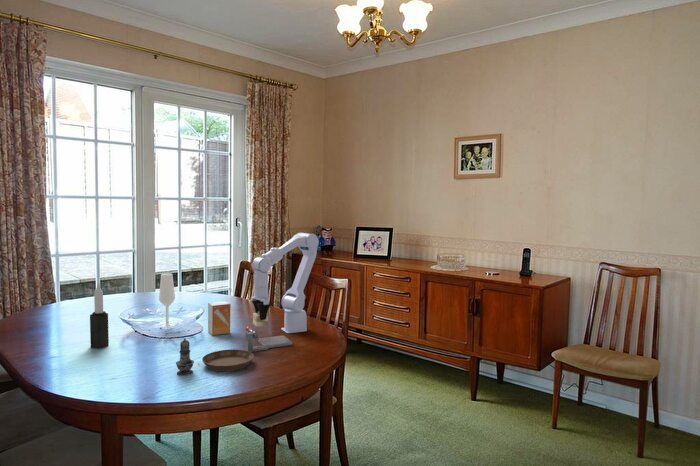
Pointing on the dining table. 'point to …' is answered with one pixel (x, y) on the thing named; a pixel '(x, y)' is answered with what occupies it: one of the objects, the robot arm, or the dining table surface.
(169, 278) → the champagne flute
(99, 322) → the black and grey bottle
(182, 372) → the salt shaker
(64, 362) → the dining table surface
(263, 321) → the block
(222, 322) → the small box
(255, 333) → the lever
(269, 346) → the grey panel board
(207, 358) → the plant saucer
